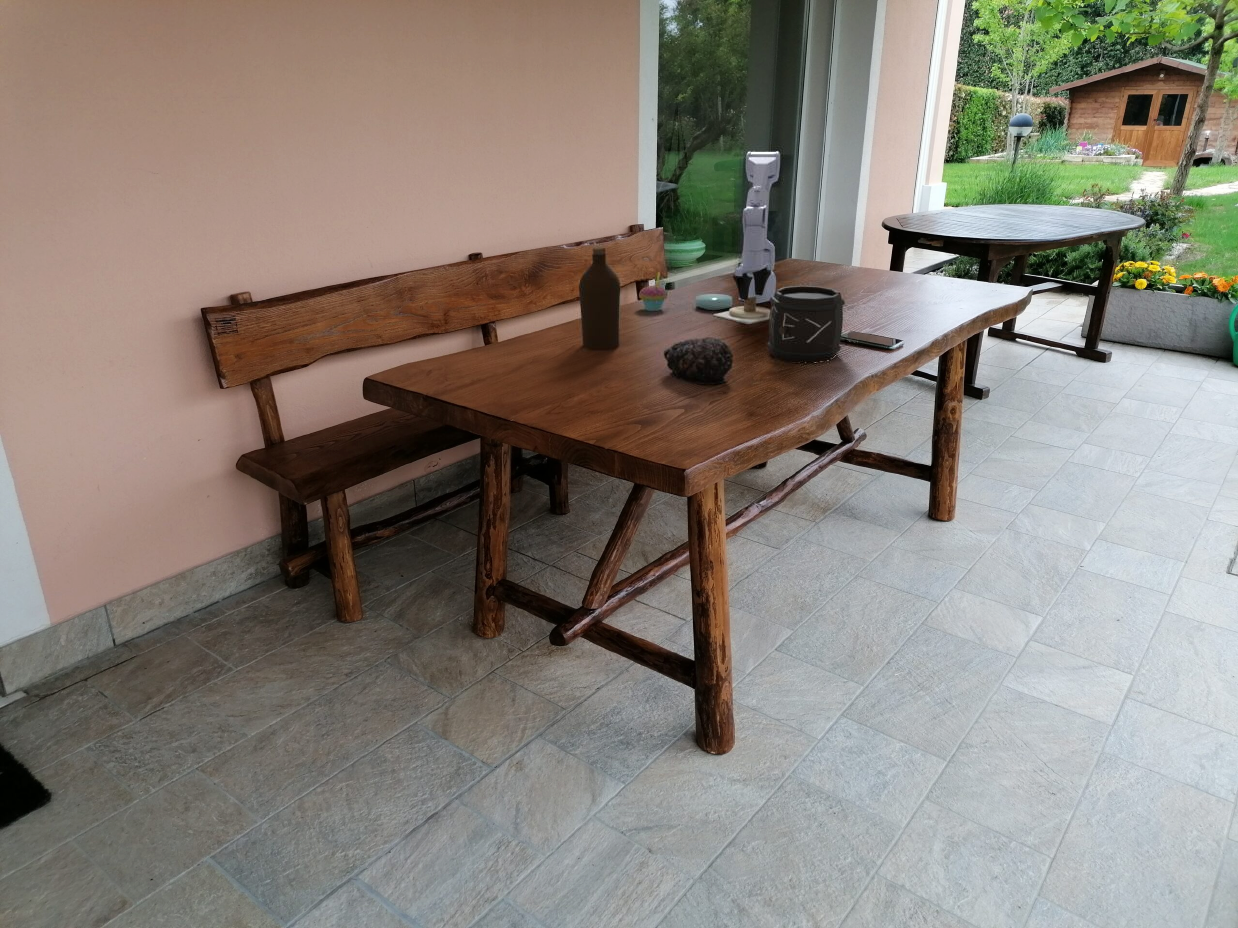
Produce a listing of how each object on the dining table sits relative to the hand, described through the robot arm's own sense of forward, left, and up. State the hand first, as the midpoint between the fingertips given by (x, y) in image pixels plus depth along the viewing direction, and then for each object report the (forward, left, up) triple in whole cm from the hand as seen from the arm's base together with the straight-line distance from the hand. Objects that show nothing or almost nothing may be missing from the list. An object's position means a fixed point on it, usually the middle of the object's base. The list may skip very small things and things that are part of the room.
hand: (751, 297), depth 258 cm
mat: (0, 0, -5) cm, 5 cm away
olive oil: (+54, -3, -6) cm, 54 cm away
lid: (0, 0, -5) cm, 5 cm away
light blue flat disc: (+1, -14, -5) cm, 15 cm away
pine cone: (+56, +33, -6) cm, 65 cm away
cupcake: (+16, -25, -6) cm, 30 cm away
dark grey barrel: (+23, +38, -6) cm, 44 cm away
